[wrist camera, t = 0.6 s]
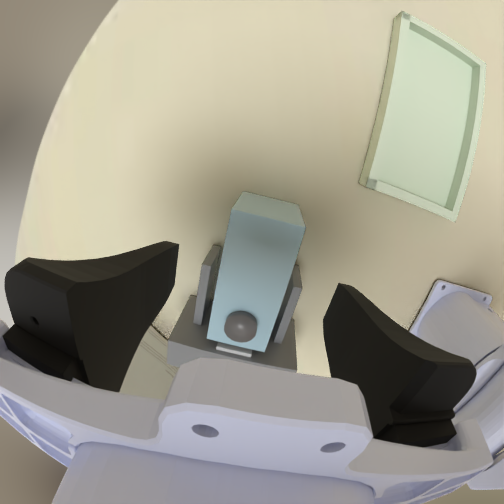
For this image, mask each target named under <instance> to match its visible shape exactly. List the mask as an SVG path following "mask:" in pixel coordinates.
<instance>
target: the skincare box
mask: <svg viewBox="0 0 504 504" xmlns="http://www.w3.org/2000/svg"><path fill="white" fill-rule="evenodd" d="M167 349H168V341H167V340H166V339H165V338H164V337H162V336H161V335H160V334H159V333H158V332H157V331H156V330H155V329H154V328H153V327H152V326H150V327H149V329H148V330H147V332H146V333H145V335H144V337H143V338H142V340H141V342H140V344H139V346H138V348H137V350H136V352H135V355H134V357H133V359H132V361H131V364H130V366H129V368H128V371H127V373H126V376H125V378H124V381H123V384H122V386H121V389H120V392H119V393H123V394H129V395H135V396H141V397H148V398H155V399H163V400H165V399H166V396H167V394H168V391H169V389H170V386H171V384H172V381H173V378H174V377H175V375H176V373H177V371H178V369H179V367H176V366H172V365H169V364H167Z"/></svg>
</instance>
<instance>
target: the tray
mask: <svg viewBox="0 0 504 504" xmlns="http://www.w3.org/2000/svg"><path fill="white" fill-rule="evenodd" d="M485 79H486V63H485V62H483V61H482V60H481V59H479V58H478V57H477V56H476V55H474V54H473V53H471V52H470V51H469V50H467V49H466V48H465V47H463V46H462V45H460V44H459V43H457V42H456V41H454V40H453V39H451V38H450V37H448V36H447V35H445V34H443V33H442V32H440V31H439V30H437V29H435V28H433V27H432V26H430V25H428V24H427V23H425V22H423V21H421V20H419V19H417V18H415V17H414V16H412V15H410V14H408V13H406V12H404V11H401V12H400V13H399V14H398V15H397V16H396V17H395V18H394V22H393V30H392V37H391V44H390V50H389V56H388V62H387V68H386V73H385V78H384V83H383V88H382V93H381V98H380V103H379V107H378V112H377V116H376V120H375V124H374V128H373V132H372V136H371V140H370V144H369V148H368V152H367V155H366V159H365V163H364V166H363V170H362V173H361V177H360V180H359V184H361V185H363V186H365V187H367V188H370V189H373V190H376V191H379V192H381V193H384V194H387V195H390V196H392V197H395V198H398V199H400V200H403V201H405V202H408V203H410V204H413V205H415V206H418V207H420V208H423V209H425V210H428V211H430V212H432V213H435V214H437V215H439V216H442V217H444V218H446V219H448V220H451V221H453V222H456V219H457V216H458V213H459V210H460V207H461V204H462V201H463V198H464V194H465V191H466V188H467V184H468V180H469V177H470V173H471V169H472V165H473V161H474V156H475V152H476V147H477V142H478V137H479V131H480V125H481V118H482V111H483V103H484V93H485Z"/></svg>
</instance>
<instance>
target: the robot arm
mask: <svg viewBox="0 0 504 504" xmlns="http://www.w3.org/2000/svg"><path fill="white" fill-rule="evenodd" d="M178 250H179V244H176V243H172V242H168V241H163V242H159V243H156V244H153V245H149V246H146V247H143V248H140V249H137V250H133V251H130V252H126V253H122V254H119V255H115V256H110V257H104V258H98V259H88V260H75V261H61V260H46V259H37V258H29V257H28V258H26V259H25V260H23V261H21V262H20V263H18V264H17V265H16V266H14V267H13V268H11V269H10V270H9V271H8V272H7V274H6V277H5V292H6V297H7V301H8V304H9V308H10V311H11V314H12V318H13V321H14V323H15V324H14V325H13V326H12V327H11V328H10V329H9V328H8V326H7V325H6V323H4V322H3V321H2V320H1V319H0V416H1V417H2V418H4V419H5V420H6V421H7V422H8V423H9V424H10V425H12V426H13V427H14V428H15V429H16V430H17V431H19V432H20V433H21V434H22V435H23V436H25V437H26V438H27V439H28V440H30V441H31V442H32V443H33V444H35V445H36V446H38V447H39V448H40V449H41V450H43V451H44V452H46V453H47V454H48V455H50V456H51V457H53V458H54V459H56V460H57V461H59V462H60V463H62V464H63V465H65V466H67V467H68V469H67V471H66V473H65V475H64V477H63V479H62V482H61V484H60V486H59V488H58V490H57V493H56V495H55V497H54V499H53V502H52V504H422V503H425V502H427V501H431V500H433V499H436V498H439V497H441V496H444V495H446V494H449V493H451V492H453V491H455V490H456V489H458V488H459V487H461V486H463V485H464V484H465V483H467V484H468V485H469V488H470V489H473V490H490V489H504V451H503V452H501V453H499V454H497V453H498V452H499V451H501V450H502V449H503V448H504V321H503V320H502V319H501V318H500V317H499V316H498V315H497V313H496V312H495V311H494V310H493V309H492V308H491V307H490V306H489V305H490V303H491V301H492V296H491V295H489V294H486V293H483V292H480V291H476V290H473V289H470V288H467V287H463V286H460V285H457V284H453V283H450V282H446V281H443V280H437V281H436V282H435V284H434V286H433V288H432V290H431V292H430V294H429V296H428V298H427V300H426V302H425V304H424V305H423V307H422V309H421V311H420V313H419V315H418V316H417V318H416V320H415V322H414V323H413V325H412V327H411V329H410V330H409V331H407V330H406V329H404V328H403V327H401V326H400V325H399V324H397V323H396V322H395V321H393V320H392V319H391V318H390V317H388V316H387V315H386V314H385V313H383V312H382V311H381V310H380V309H379V308H378V307H376V306H375V305H374V304H373V303H372V302H371V301H370V300H369V299H367V298H366V297H365V296H364V295H363V294H362V293H360V292H359V291H358V290H357V289H355V288H354V287H352V286H350V285H346V284H341V283H338V286H337V288H336V291H335V293H334V295H333V298H332V300H331V303H330V305H329V307H328V309H327V312H326V314H325V316H324V318H323V332H324V341H325V346H326V352H327V357H328V362H329V367H330V373H331V378H330V377H322V376H315V375H308V374H301V373H295V372H289V371H283V370H277V369H272V368H267V367H261V366H256V365H252V364H247V363H242V362H238V361H233V360H229V359H216V358H198V359H196V360H193V361H190V362H187V363H184V364H182V365H181V366H180V368H179V369H178V371H177V373H176V375H175V377H174V378H173V381H172V384H171V386H170V389H169V391H168V394H167V396H166V399H165V400H163V399H155V398H148V397H141V396H135V395H129V394H123V393H119V392H120V389H121V386H122V384H123V381H124V378H125V376H126V373H127V371H128V368H129V366H130V364H131V361H132V359H133V357H134V355H135V352H136V350H137V348H138V346H139V344H140V342H141V340H142V338H143V337H144V335H145V333H146V332H147V330H148V329H149V327H150V326H151V324H152V323H153V321H154V319H155V318H156V316H157V315H158V314H159V312H160V310H161V309H162V307H163V306H164V304H165V303H166V301H167V299H168V297H169V295H170V293H171V291H172V289H173V287H174V285H175V276H176V267H177V258H178ZM443 285H444V286H443ZM442 286H443V287H442ZM496 454H497V455H496Z"/></svg>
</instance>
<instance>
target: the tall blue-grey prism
mask: <svg viewBox="0 0 504 504" xmlns="http://www.w3.org/2000/svg"><path fill="white" fill-rule="evenodd" d="M305 229H306V226H305V223H304V220H303V217H302V214H301V211H300V208H299V206H298V205H297V204H293V203H290V202H286V201H282V200H278V199H274V198H270V197H266V196H262V195H257V194H253V193H249V192H245V191H243V192H242V194H241V195H240V197H239V198H238V200H237V202H236V203H235V205H234V206H233V208H232V209H231V214H230V219H229V224H228V229H227V233H226V238H225V243H224V248H223V253H222V258H221V263H220V269H219V274H218V279H217V284H216V290H215V295H214V300H213V306H212V311H211V317H210V322H209V328H208V334H207V339H210V340H214V341H218V342H222V343H226V344H230V345H234V346H239V347H243V348H248V349H252V350H257V351H262V352H265V349H266V347H267V344H268V341H269V338H270V335H271V333H272V330H273V327H274V324H275V321H276V318H277V315H278V312H279V310H280V307H281V304H282V301H283V298H284V295H285V292H286V289H287V286H288V283H289V280H290V277H291V274H292V270H293V267H294V264H295V261H296V258H297V255H298V252H299V248H300V245H301V242H302V239H303V235H304V232H305Z"/></svg>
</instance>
